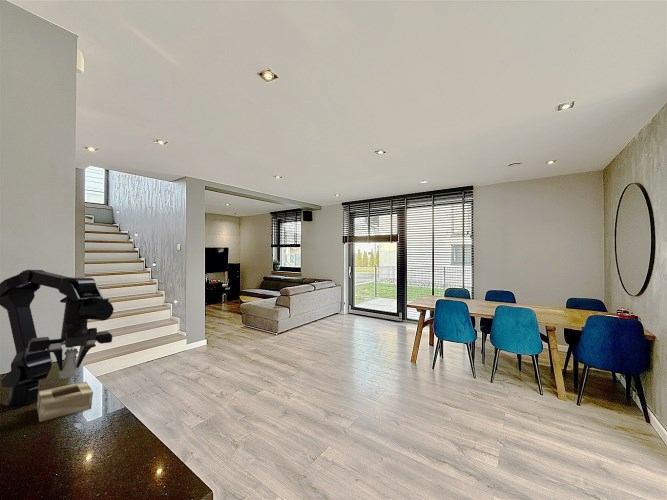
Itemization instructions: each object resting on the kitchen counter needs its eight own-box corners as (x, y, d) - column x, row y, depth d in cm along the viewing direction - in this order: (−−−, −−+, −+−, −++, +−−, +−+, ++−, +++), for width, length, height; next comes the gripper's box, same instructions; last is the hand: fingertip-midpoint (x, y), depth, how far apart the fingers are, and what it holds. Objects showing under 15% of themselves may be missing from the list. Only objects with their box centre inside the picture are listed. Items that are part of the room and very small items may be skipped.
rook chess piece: (65, 379, 83) (69, 352, 84) (54, 377, 84) (57, 350, 85) (81, 374, 88) (85, 348, 88) (70, 372, 88) (74, 346, 89)
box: (36, 408, 85) (38, 391, 85) (84, 397, 93) (86, 381, 93) (39, 421, 77) (42, 403, 78) (91, 408, 86) (93, 391, 86)
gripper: (34, 325, 75) (25, 385, 74) (119, 319, 89) (113, 369, 88) (31, 318, 82) (23, 373, 81) (110, 314, 96) (105, 360, 95)
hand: (69, 369), depth 86 cm, fingers closed on rook chess piece, 3 cm apart
